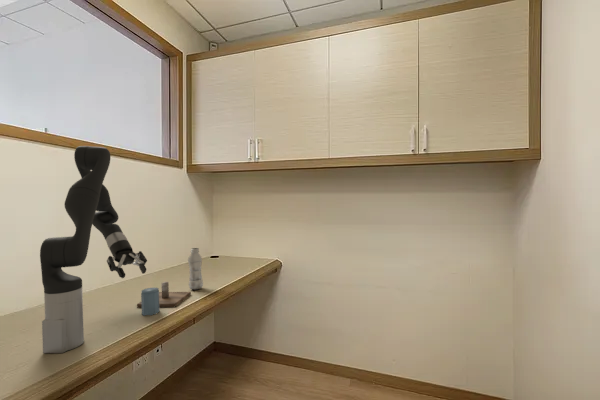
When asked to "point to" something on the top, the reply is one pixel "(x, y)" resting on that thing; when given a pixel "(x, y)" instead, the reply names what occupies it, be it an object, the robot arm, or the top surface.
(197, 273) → the plastic bottle
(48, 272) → the robot arm
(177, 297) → the post dock
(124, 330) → the top surface
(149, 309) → the blue-grey rounded cylinder
